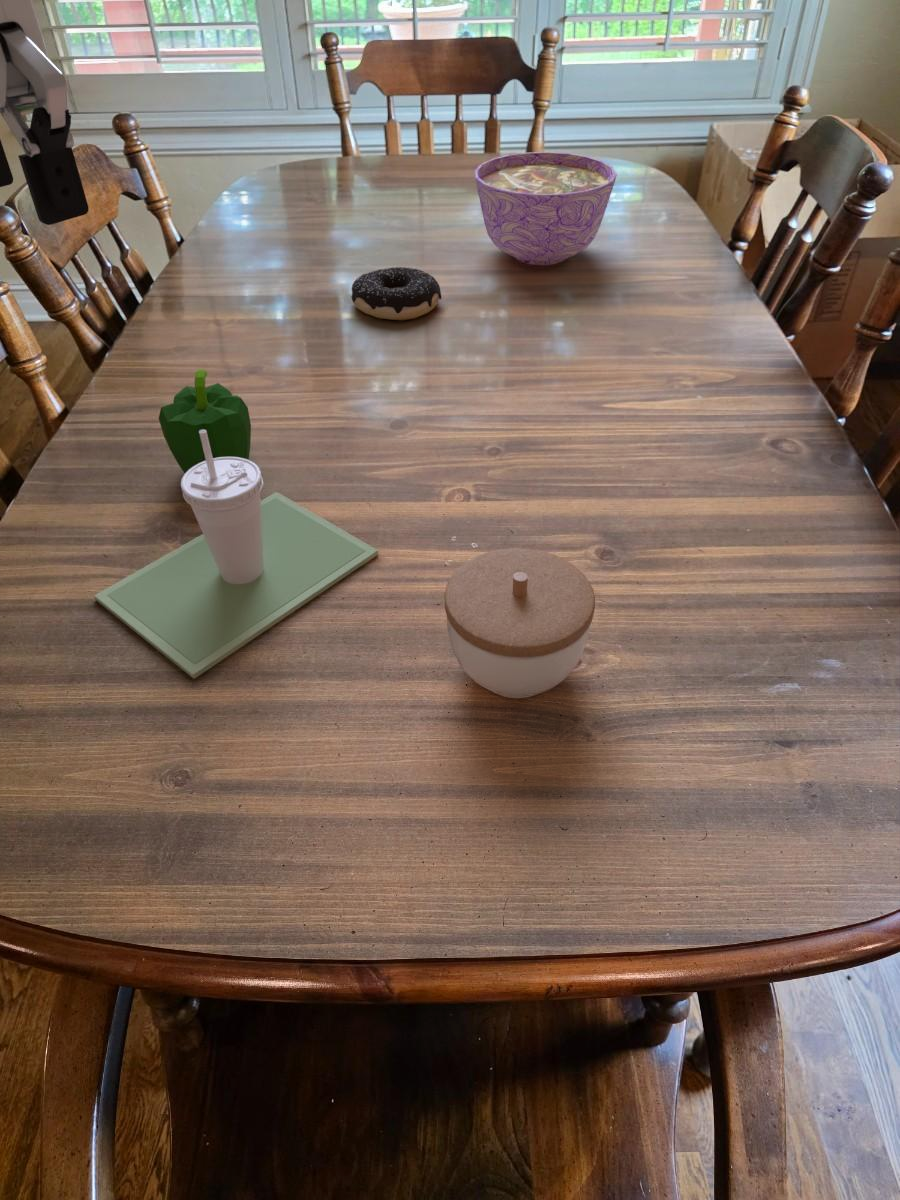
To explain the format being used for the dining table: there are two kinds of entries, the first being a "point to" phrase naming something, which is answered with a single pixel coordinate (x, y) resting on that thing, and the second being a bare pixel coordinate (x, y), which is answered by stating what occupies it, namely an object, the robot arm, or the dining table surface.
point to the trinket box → (518, 619)
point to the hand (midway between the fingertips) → (26, 202)
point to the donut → (396, 293)
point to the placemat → (233, 587)
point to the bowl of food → (543, 203)
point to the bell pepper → (206, 423)
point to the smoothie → (228, 512)
